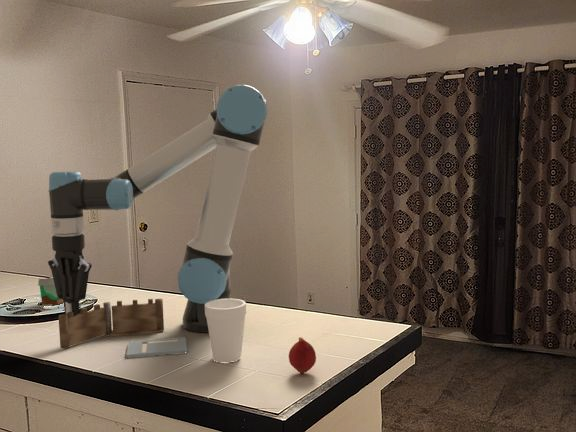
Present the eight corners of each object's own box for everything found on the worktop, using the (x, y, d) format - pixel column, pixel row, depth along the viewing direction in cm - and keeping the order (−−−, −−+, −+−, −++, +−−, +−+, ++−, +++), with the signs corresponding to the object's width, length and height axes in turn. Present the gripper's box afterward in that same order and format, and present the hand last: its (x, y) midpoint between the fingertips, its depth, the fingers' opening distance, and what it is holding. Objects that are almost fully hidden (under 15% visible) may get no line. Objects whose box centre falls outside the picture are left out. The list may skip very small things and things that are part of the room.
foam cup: (227, 348, 142) (225, 296, 141) (255, 356, 136) (254, 302, 135) (198, 360, 135) (196, 305, 133) (226, 369, 129) (224, 311, 127)
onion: (315, 368, 129) (314, 332, 128) (317, 378, 123) (316, 341, 122) (288, 368, 128) (287, 333, 128) (289, 379, 123) (288, 342, 122)
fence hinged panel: (102, 333, 155) (100, 302, 154) (107, 334, 154) (105, 303, 153) (58, 347, 144) (56, 315, 143) (63, 348, 143) (61, 316, 142)
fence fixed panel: (164, 327, 160) (162, 296, 159) (163, 332, 156) (162, 300, 155) (105, 332, 157) (104, 300, 156) (104, 336, 153) (102, 304, 152)
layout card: (185, 340, 149) (185, 336, 149) (186, 353, 140) (186, 349, 140) (129, 344, 147) (129, 340, 147) (126, 358, 137) (126, 354, 137)
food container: (58, 311, 178) (55, 279, 177) (39, 311, 180) (37, 279, 179) (80, 301, 190) (78, 271, 189) (62, 300, 192) (61, 270, 191)
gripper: (37, 234, 144) (42, 327, 147) (74, 237, 138) (79, 334, 141) (61, 230, 151) (66, 319, 154) (98, 233, 145) (102, 326, 148)
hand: (72, 326), depth 147 cm, fingers closed
